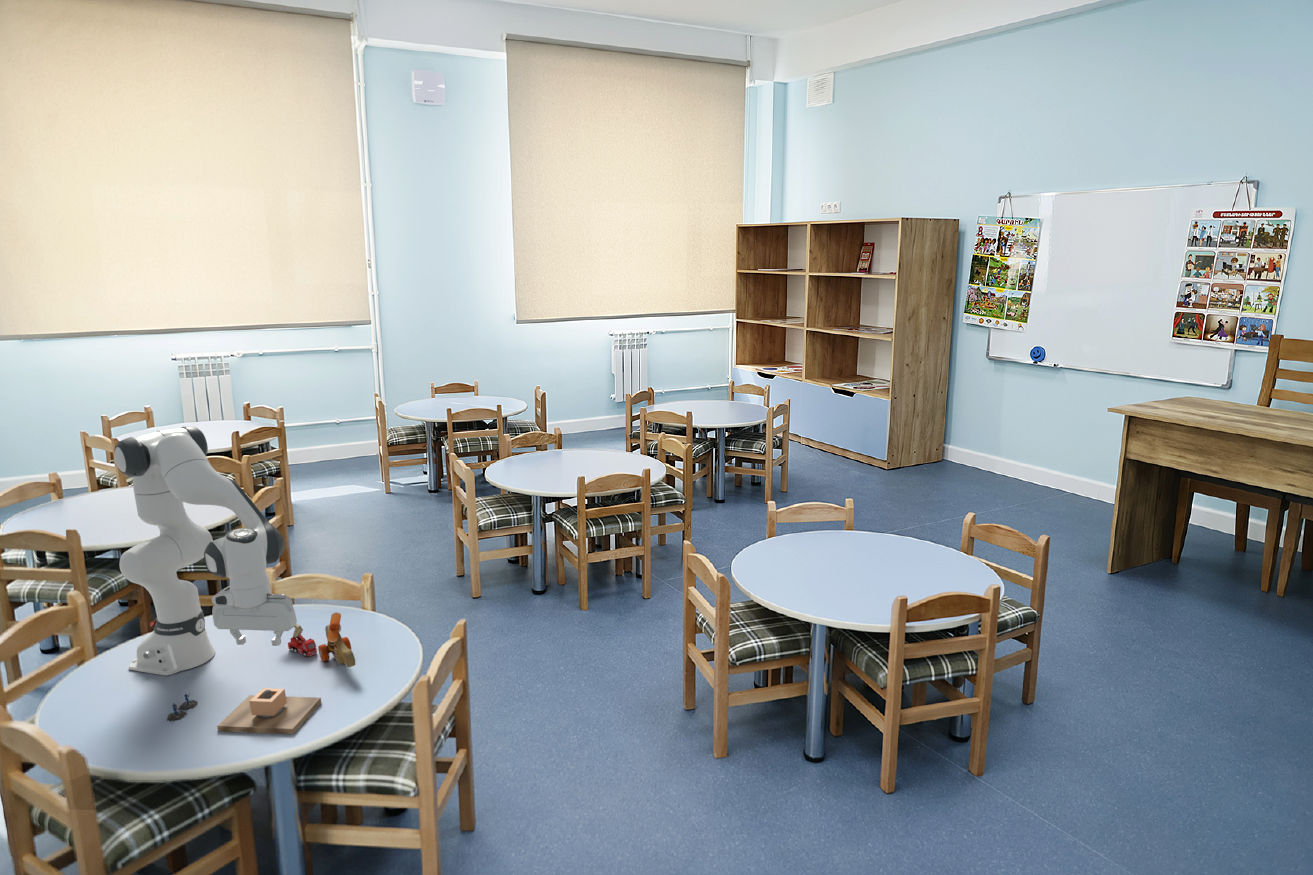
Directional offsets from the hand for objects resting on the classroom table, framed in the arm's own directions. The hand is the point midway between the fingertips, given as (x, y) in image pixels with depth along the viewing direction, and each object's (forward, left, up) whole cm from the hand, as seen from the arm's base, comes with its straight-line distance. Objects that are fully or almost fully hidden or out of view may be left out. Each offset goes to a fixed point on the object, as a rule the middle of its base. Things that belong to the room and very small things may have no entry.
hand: (259, 644), depth 206 cm
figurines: (-25, +1, -21) cm, 33 cm away
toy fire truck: (-11, +34, -21) cm, 41 cm away
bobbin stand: (0, 0, -21) cm, 21 cm away
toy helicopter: (+6, +27, -21) cm, 34 cm away
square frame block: (0, 0, -18) cm, 18 cm away
